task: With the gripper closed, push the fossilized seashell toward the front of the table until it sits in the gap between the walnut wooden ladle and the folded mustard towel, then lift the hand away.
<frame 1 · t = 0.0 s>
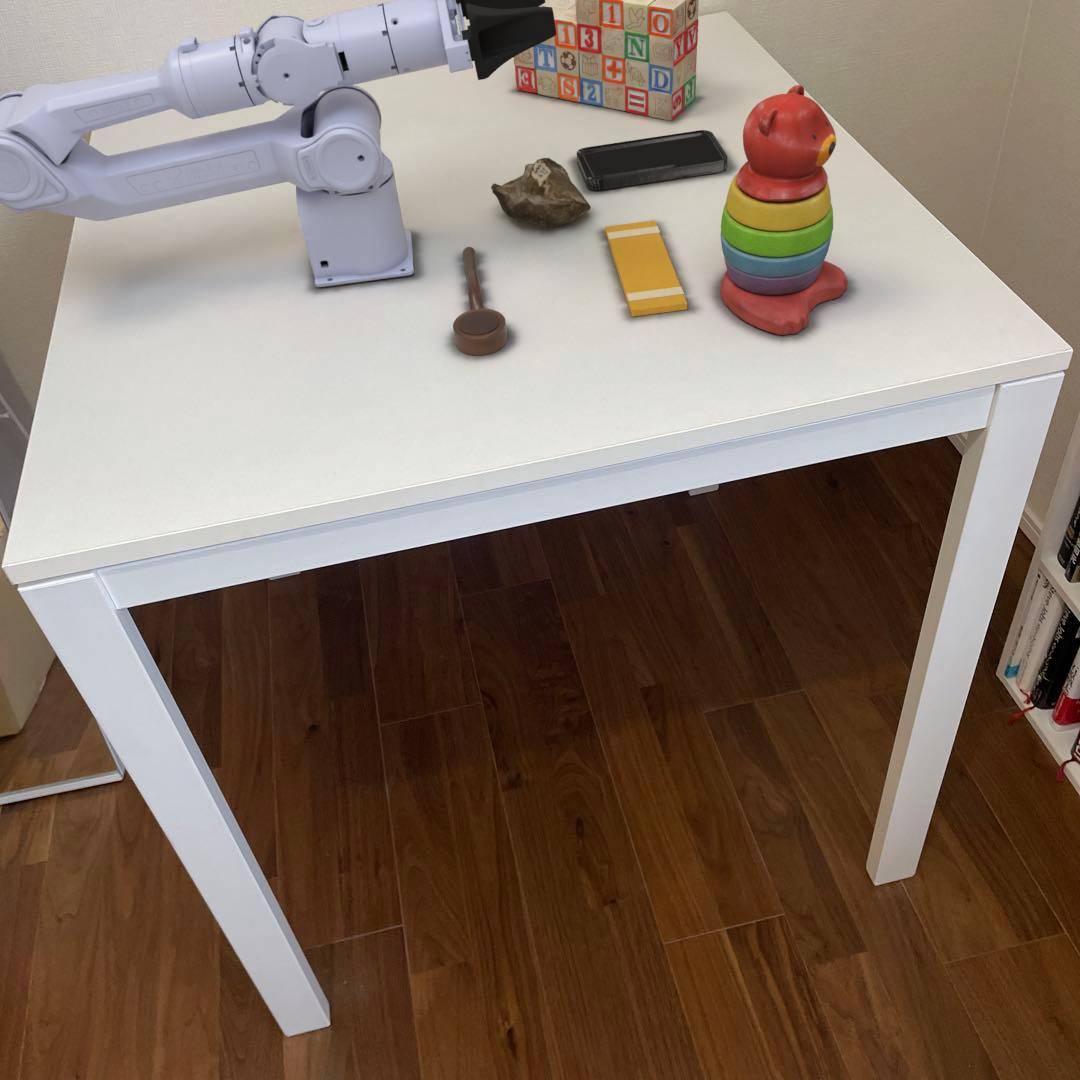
hand: (548, 4, 93), 22 cm above the table, tool horizontal, fingers open, 7 cm apart
stacking bear: (774, 296, 98), on the table
phone: (651, 166, 117), on the table
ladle: (474, 291, 102), on the table
towel: (644, 269, 103), on the table
stack of blocks: (604, 97, 131), on the table
fossilized seashell: (543, 219, 111), on the table
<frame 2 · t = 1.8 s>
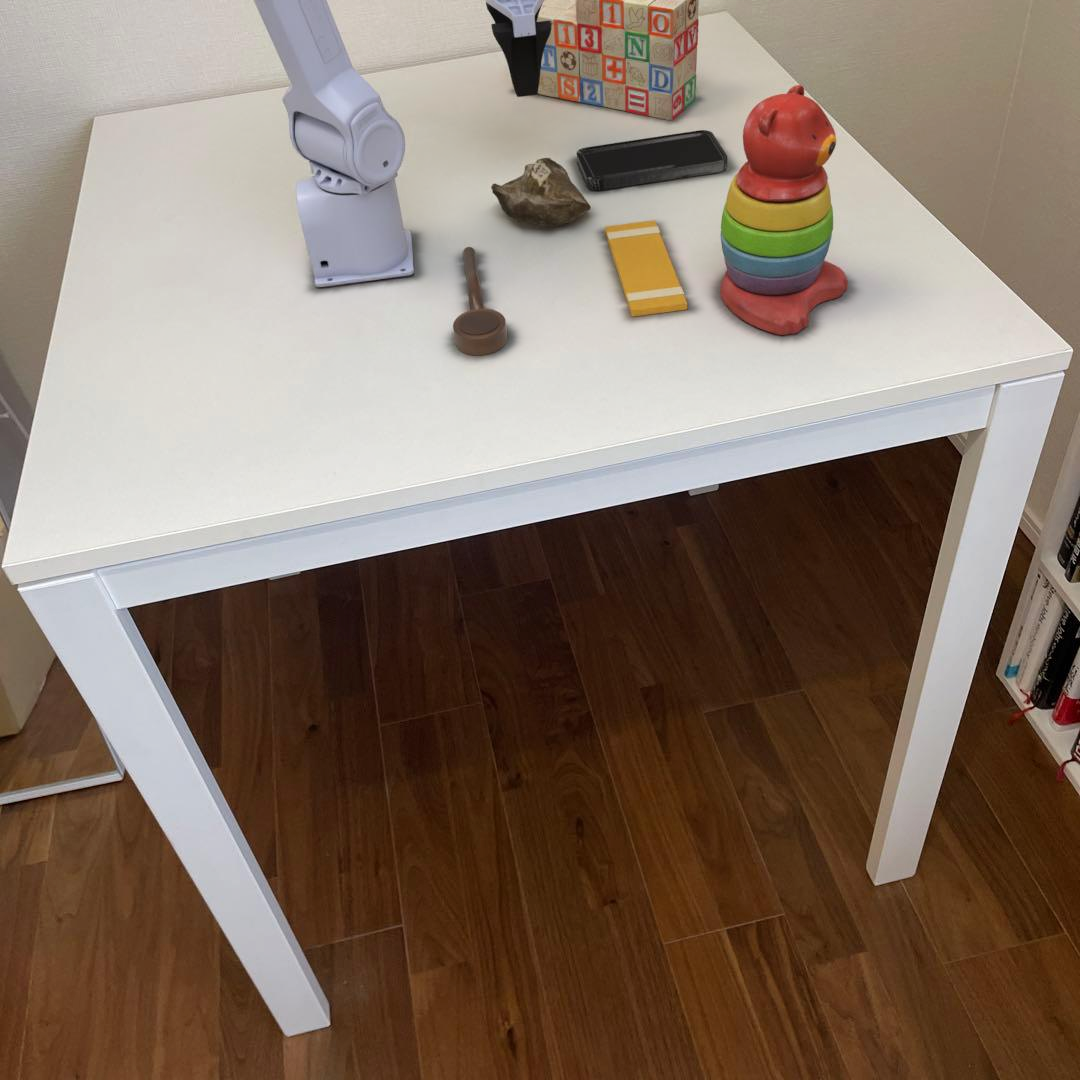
hand: (523, 83, 112), 9 cm above the table, tool pointing down, fingers open, 5 cm apart
nothing on the table moved.
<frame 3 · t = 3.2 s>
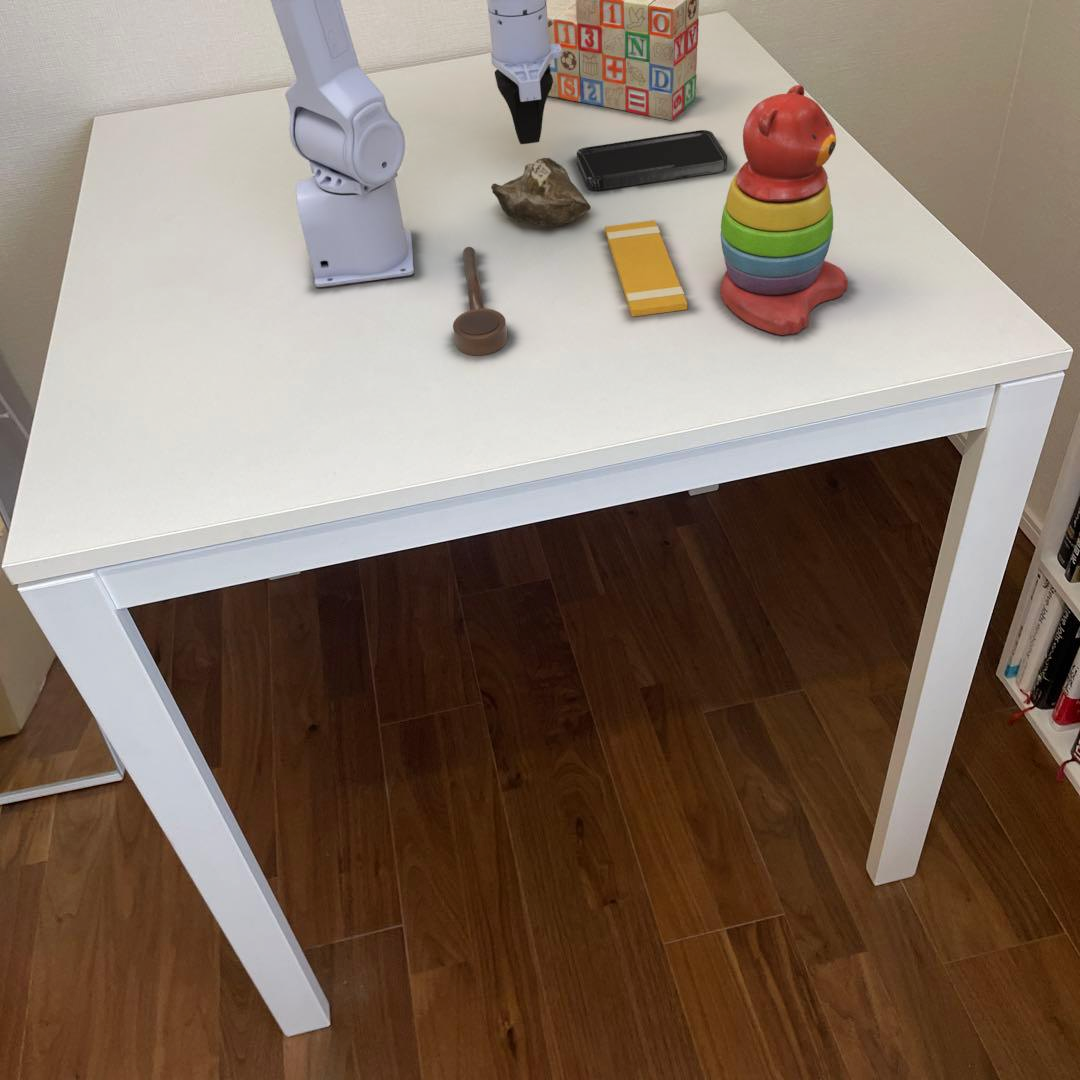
hand: (529, 140, 116), 3 cm above the table, tool pointing down, fingers closed
nothing on the table moved.
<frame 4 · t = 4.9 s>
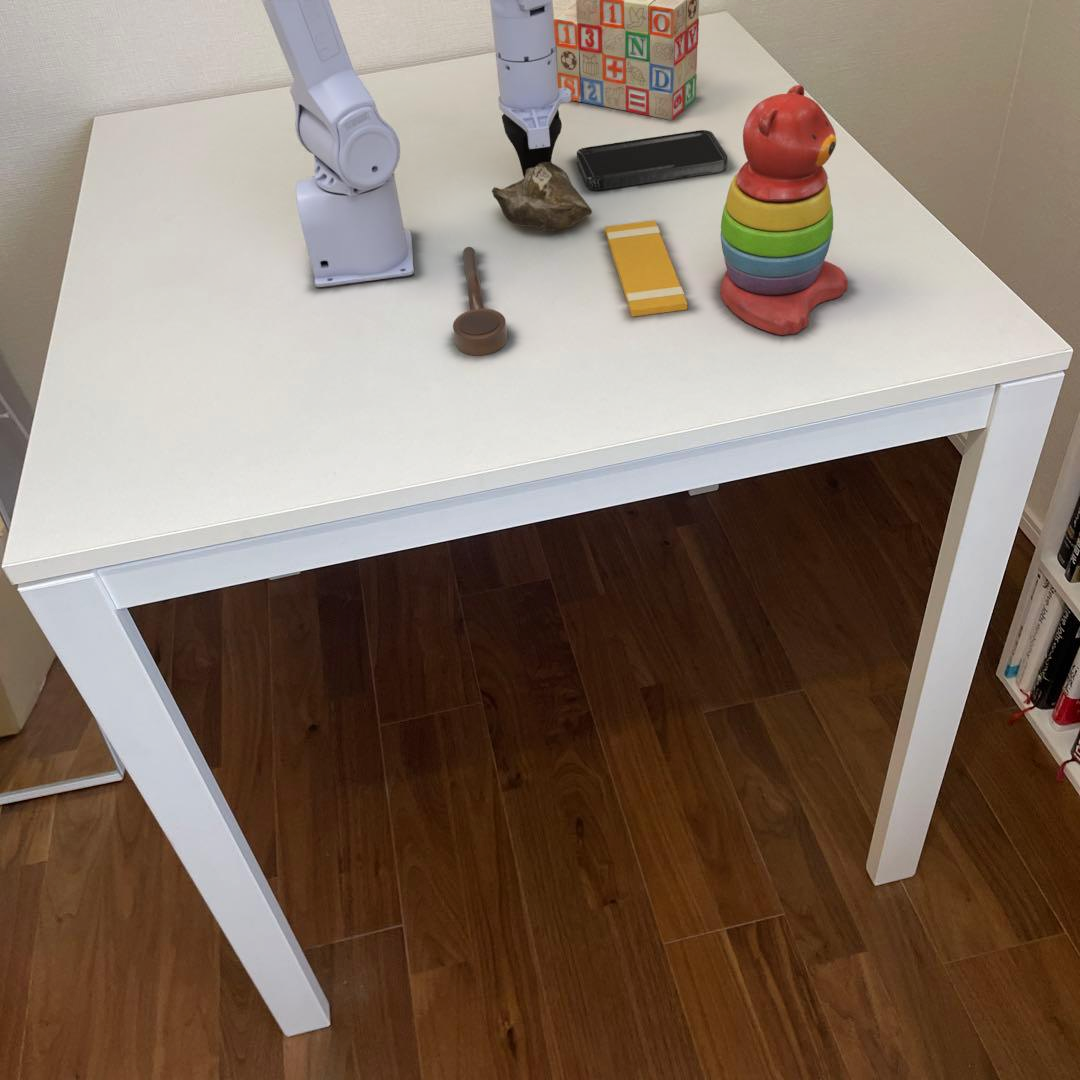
hand: (536, 184, 113), 1 cm above the table, tool pointing down, fingers closed
fossilized seashell: (544, 223, 111), on the table, touching gripper
everything else where it was.
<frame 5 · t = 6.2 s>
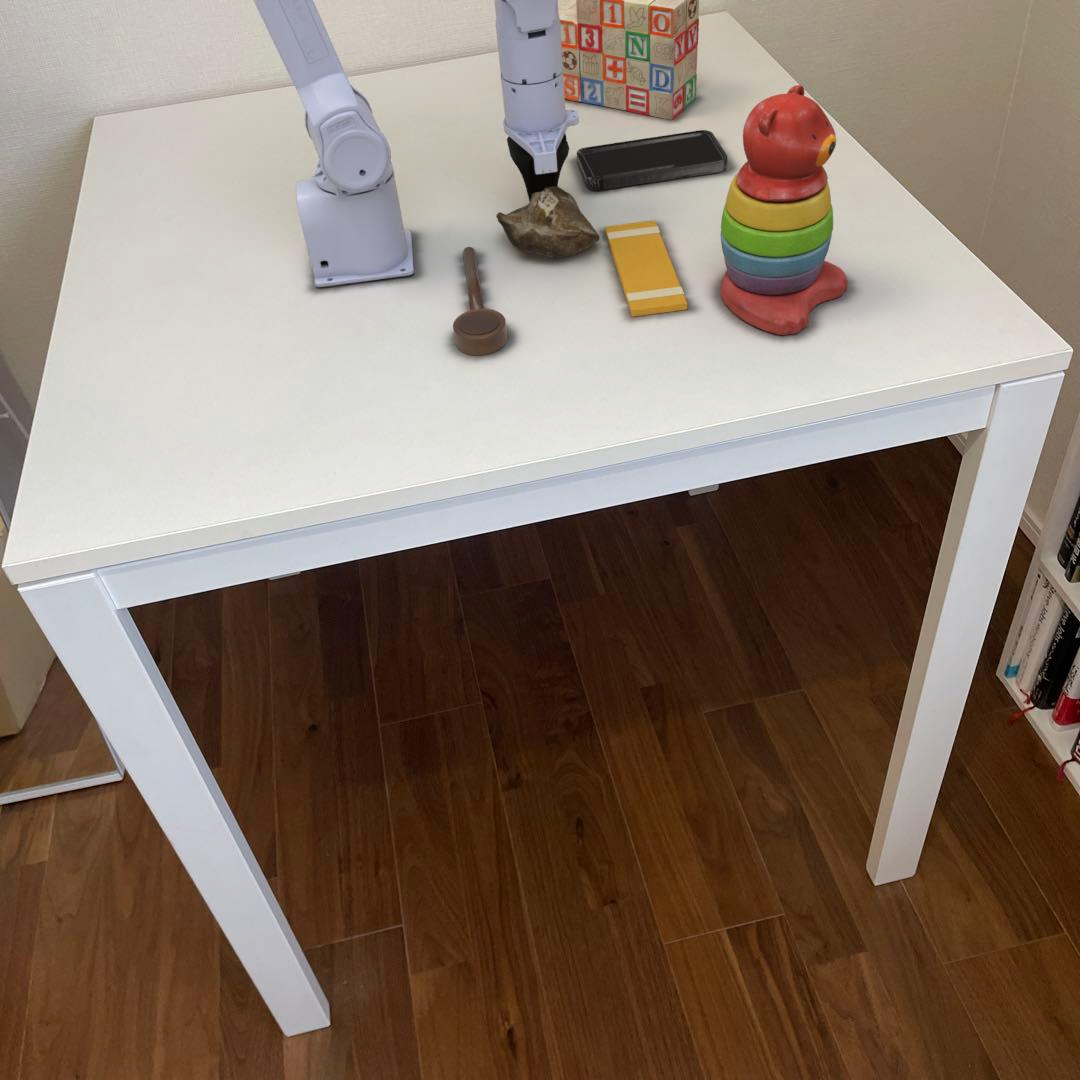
hand: (543, 208, 110), 1 cm above the table, tool pointing down, fingers closed
fossilized seashell: (550, 249, 107), on the table, touching gripper
everything else where it was.
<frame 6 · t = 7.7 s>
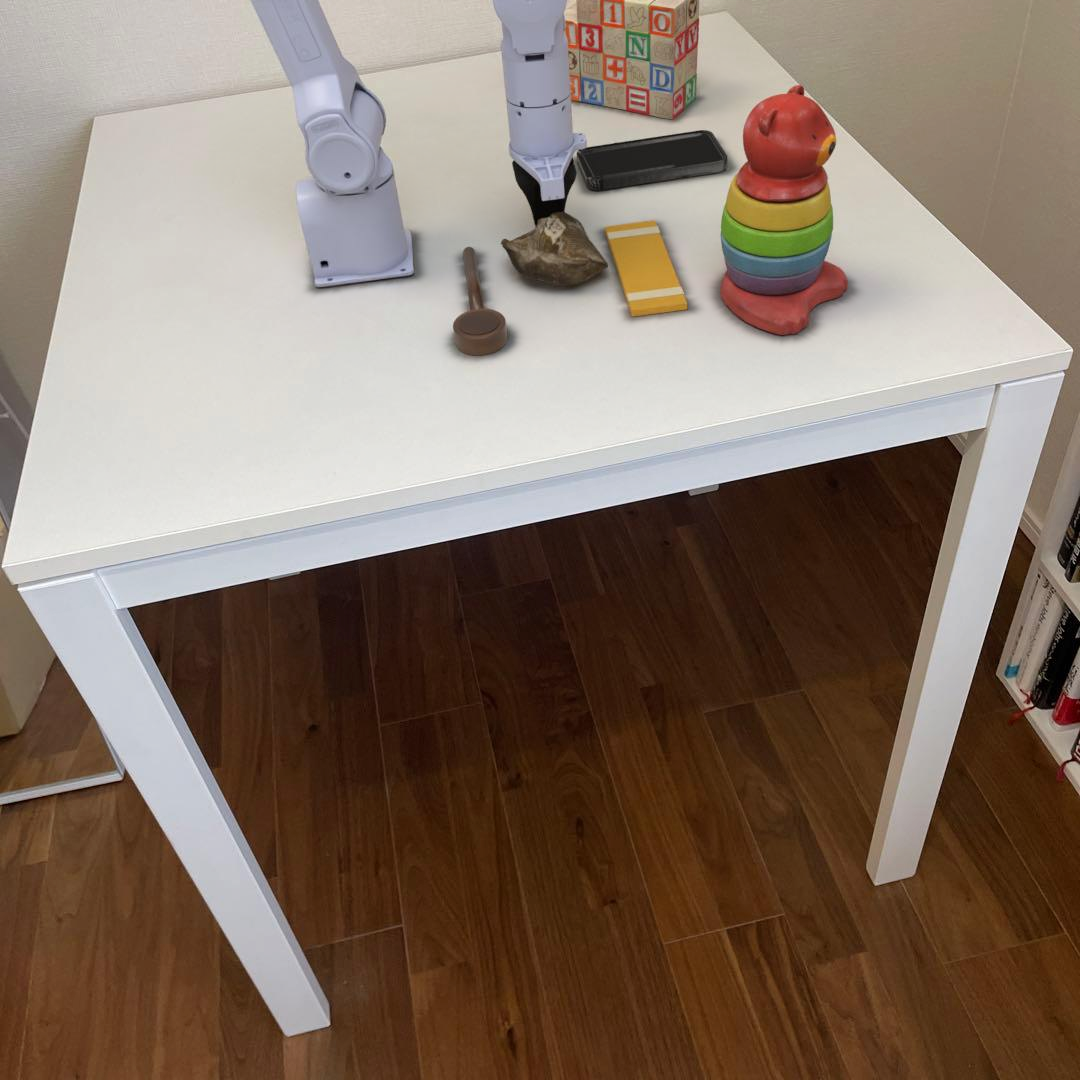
hand: (549, 233, 106), 1 cm above the table, tool pointing down, fingers closed
fossilized seashell: (556, 276, 104), on the table, touching gripper
everything else where it was.
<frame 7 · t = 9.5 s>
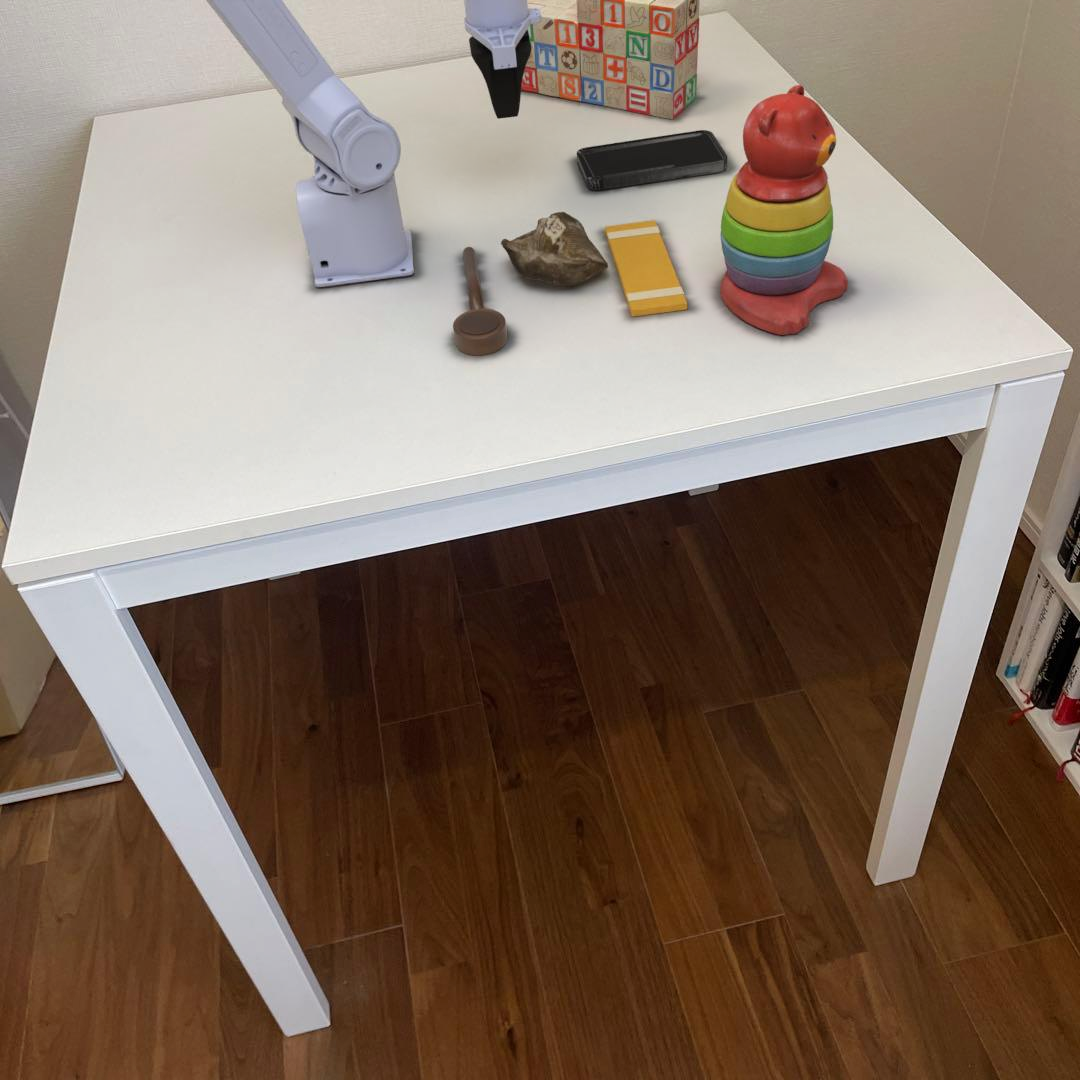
hand: (507, 114, 107), 9 cm above the table, tool pointing down, fingers closed
fossilized seashell: (556, 276, 104), on the table
everything else where it was.
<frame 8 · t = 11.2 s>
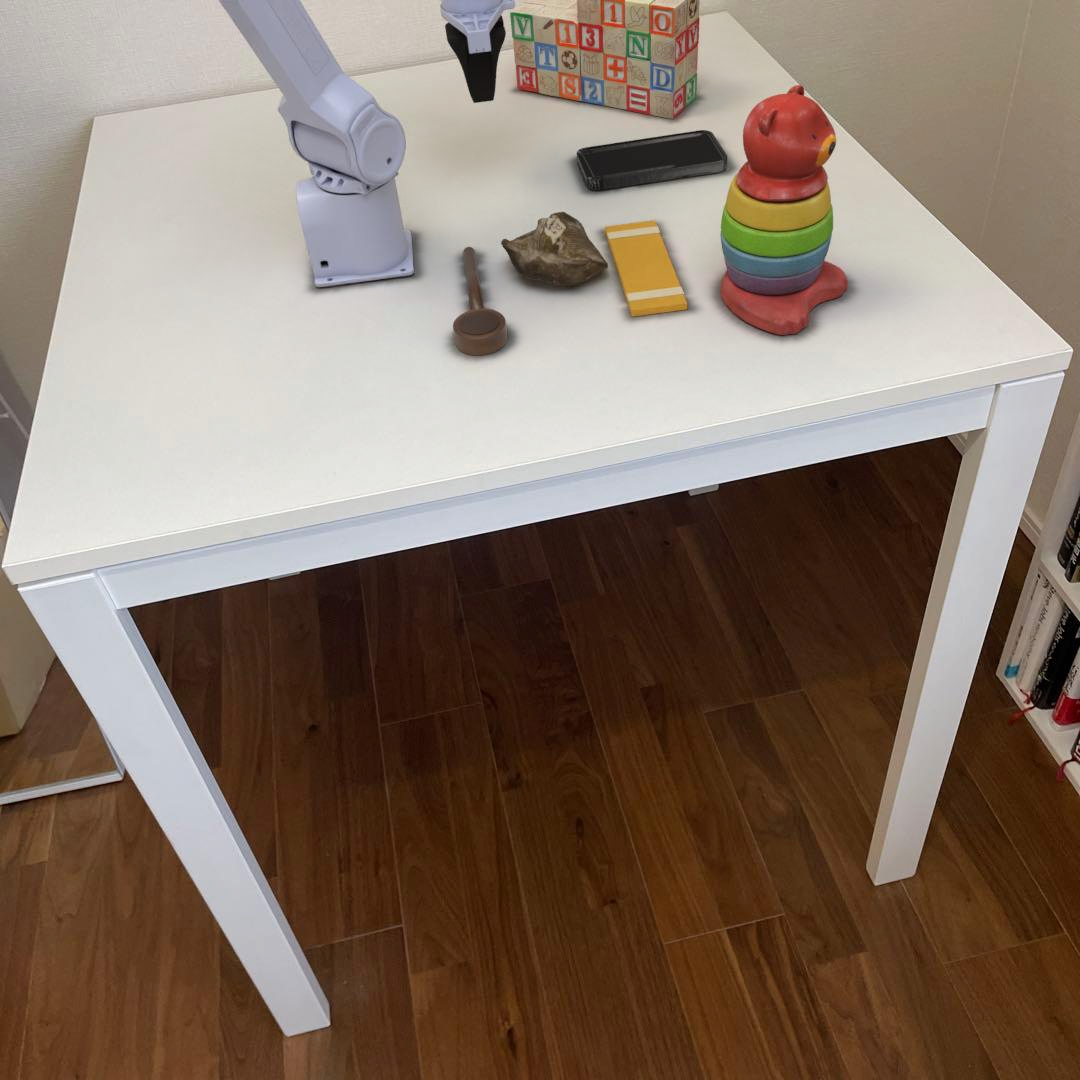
hand: (483, 99, 110), 9 cm above the table, tool pointing down, fingers closed
nothing on the table moved.
at the end: fossilized seashell inside the target area (1.0 cm from its centre), on the table; fossilized seashell moved 11.0 cm from its start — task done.
